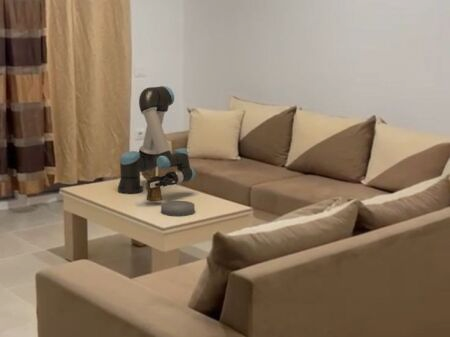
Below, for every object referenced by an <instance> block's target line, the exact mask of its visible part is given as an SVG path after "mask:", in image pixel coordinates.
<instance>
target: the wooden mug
mask: <svg viewBox="0 0 450 337" xmlns="http://www.w3.org/2000/svg"><path fill="white" fill-rule="evenodd" d="M141 175H142V177H143V178H144V180H147V183H146V186H145V187H146V192H147V193H146V199H145V200H146V201H148V202H154V203H155V202H161V201H162V200H163V197H162V189H161V186H158V187H154V188H150V183H153V182H157V181H159V183H160V180H158V179H151V177H152V176H151V175H150V173H148V172H147V171H142V172H141Z"/></svg>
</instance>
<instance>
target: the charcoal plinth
mask: <svg viewBox="0 0 450 337" xmlns="http://www.w3.org/2000/svg"><path fill="white" fill-rule="evenodd" d="M160 204H161V205H160V213H161V214H162V215H164V216H169V217H187V216H188V217H189V216H191V215H194V214H195V208H196V207H195V203H194V202H192V201H186V200H170V201H169V200H168V201H165V202H162V203H160Z"/></svg>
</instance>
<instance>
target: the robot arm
mask: <svg viewBox="0 0 450 337" xmlns="http://www.w3.org/2000/svg"><path fill="white" fill-rule="evenodd" d="M174 102H175V94H174V92H173V90H172V89H171V88H170V87H168V86H165V85H164V86H163V85H159V86H153V87H151V86H150V87H146V88H144V89H143V90H142V91H141V93H140V95H139V100H138V106H139V110H140V113H141V115H143V117H144V119H145V122H146V124H147V125H146V129H145V133H144V138H143V139H144V140H143V143H142V145H140V147H139V150H138V151H137V150H136V151H134V150H133V151H126V152H123V153H122V154H121V155H120V157H119V158H120V160H119V167H120V168H119V170H120V180H119V183H118V186H117V192H118V193H120V192H121V193H120V194H124V193H128V194H127V195H129V194H131V195H133V193H135V194H139V193H143V192H144V186H145V185H146V183H147V180H146V179H143V180H142V179H141V173H142V171H145V172H147V171H152V170H155V169H157V168H159V169H160V170H161V169H162V170H166V169H170V168H174V167H175V168H176V169H177V170H173V171H169V172H167V173H166V174H165V175H162V176H160V175H156V176H151V179H158V180H160V183H159V181H157V182H153V183H150V188H154V187H158V186H160V187H167V186H174V185H178V184H181V183H187V182H189V181H193V180H194V179H195V177H196V172H195V169H193V168H192V167H191V166H190V157H189V153H188V150H187V148H177V149H174V152H173V153H172V151H171V149H170V146H169V143H168V140H167V138H166V134H165V132H164V128H163V121H164V117H165V114H166V113H167V112H168V110H169V106H171V105H173V104H174Z"/></svg>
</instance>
